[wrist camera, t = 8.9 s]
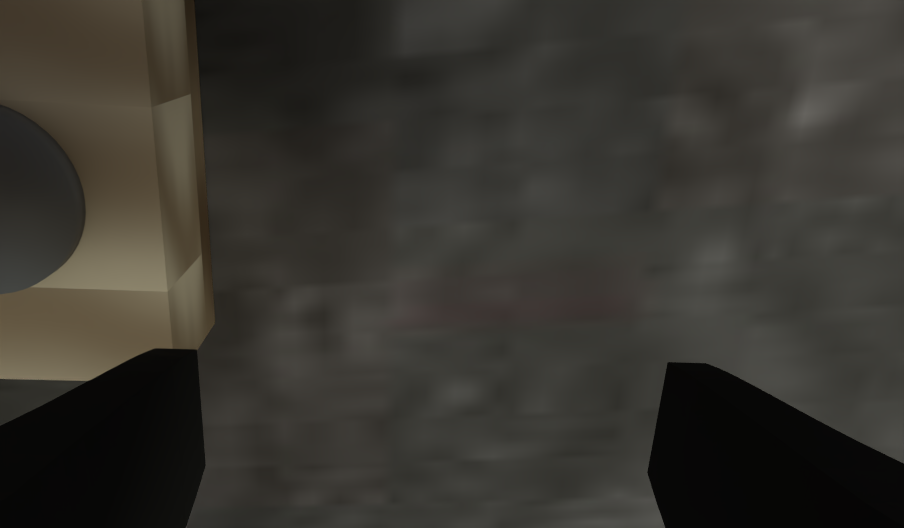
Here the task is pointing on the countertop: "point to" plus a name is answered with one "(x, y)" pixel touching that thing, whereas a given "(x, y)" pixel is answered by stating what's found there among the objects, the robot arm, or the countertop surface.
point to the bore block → (100, 186)
